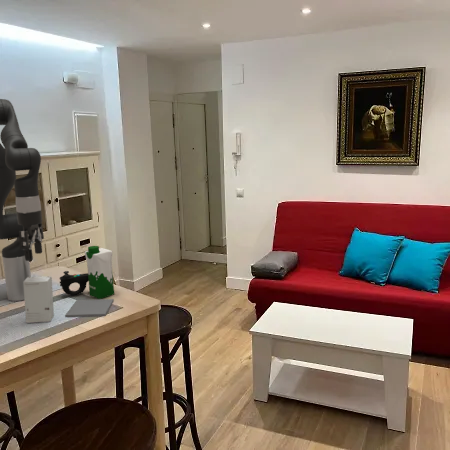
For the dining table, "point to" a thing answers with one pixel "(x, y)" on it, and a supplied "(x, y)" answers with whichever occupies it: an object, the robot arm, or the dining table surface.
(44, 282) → the skincare box
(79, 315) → the mat
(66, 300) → the dining table surface
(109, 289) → the milk carton
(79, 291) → the controller
